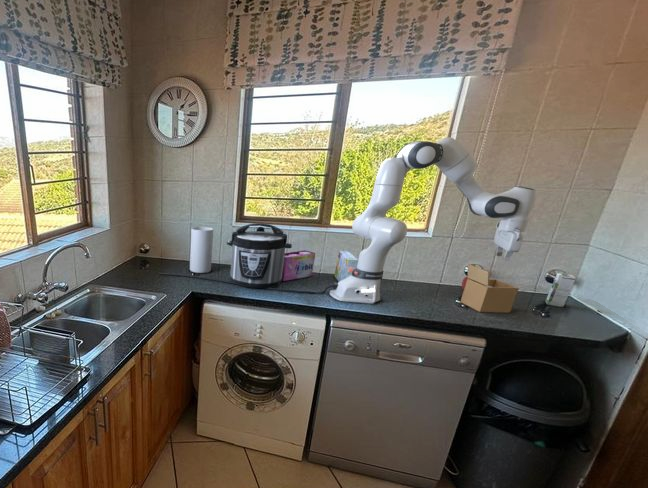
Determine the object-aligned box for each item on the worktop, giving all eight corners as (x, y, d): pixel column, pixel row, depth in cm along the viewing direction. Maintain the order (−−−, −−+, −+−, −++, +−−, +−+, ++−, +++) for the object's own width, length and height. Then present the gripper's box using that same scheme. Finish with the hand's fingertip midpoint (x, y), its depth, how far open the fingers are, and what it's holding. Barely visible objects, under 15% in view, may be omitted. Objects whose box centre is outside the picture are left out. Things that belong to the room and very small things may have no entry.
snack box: (353, 288, 209) (359, 260, 204) (342, 287, 210) (347, 259, 205) (343, 276, 229) (349, 250, 223) (333, 276, 230) (338, 250, 224)
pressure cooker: (215, 280, 221) (219, 222, 209) (248, 272, 237) (254, 217, 225) (260, 294, 199) (268, 230, 187) (293, 284, 215) (302, 224, 203)
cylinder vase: (212, 269, 243) (215, 227, 233) (207, 274, 232) (210, 231, 223) (192, 267, 247) (194, 226, 238) (187, 272, 236) (189, 229, 227)
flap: (488, 285, 175) (487, 286, 175) (468, 277, 187) (467, 277, 187) (489, 272, 172) (488, 272, 172) (468, 264, 184) (467, 264, 184)
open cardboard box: (479, 311, 179) (487, 287, 175) (460, 301, 191) (467, 278, 187) (510, 312, 178) (518, 288, 174) (488, 302, 190) (496, 279, 186)
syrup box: (544, 301, 192) (556, 272, 187) (561, 304, 189) (573, 274, 184) (547, 304, 188) (558, 275, 183) (564, 307, 185) (576, 277, 179)
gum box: (281, 281, 219) (285, 257, 214) (271, 278, 226) (274, 254, 221) (312, 276, 230) (316, 252, 225) (301, 272, 237) (304, 250, 232)
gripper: (531, 230, 161) (519, 264, 166) (513, 223, 178) (503, 254, 184) (511, 229, 164) (500, 262, 169) (495, 222, 181) (486, 252, 186)
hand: (501, 258), depth 176 cm, fingers open, 8 cm apart
